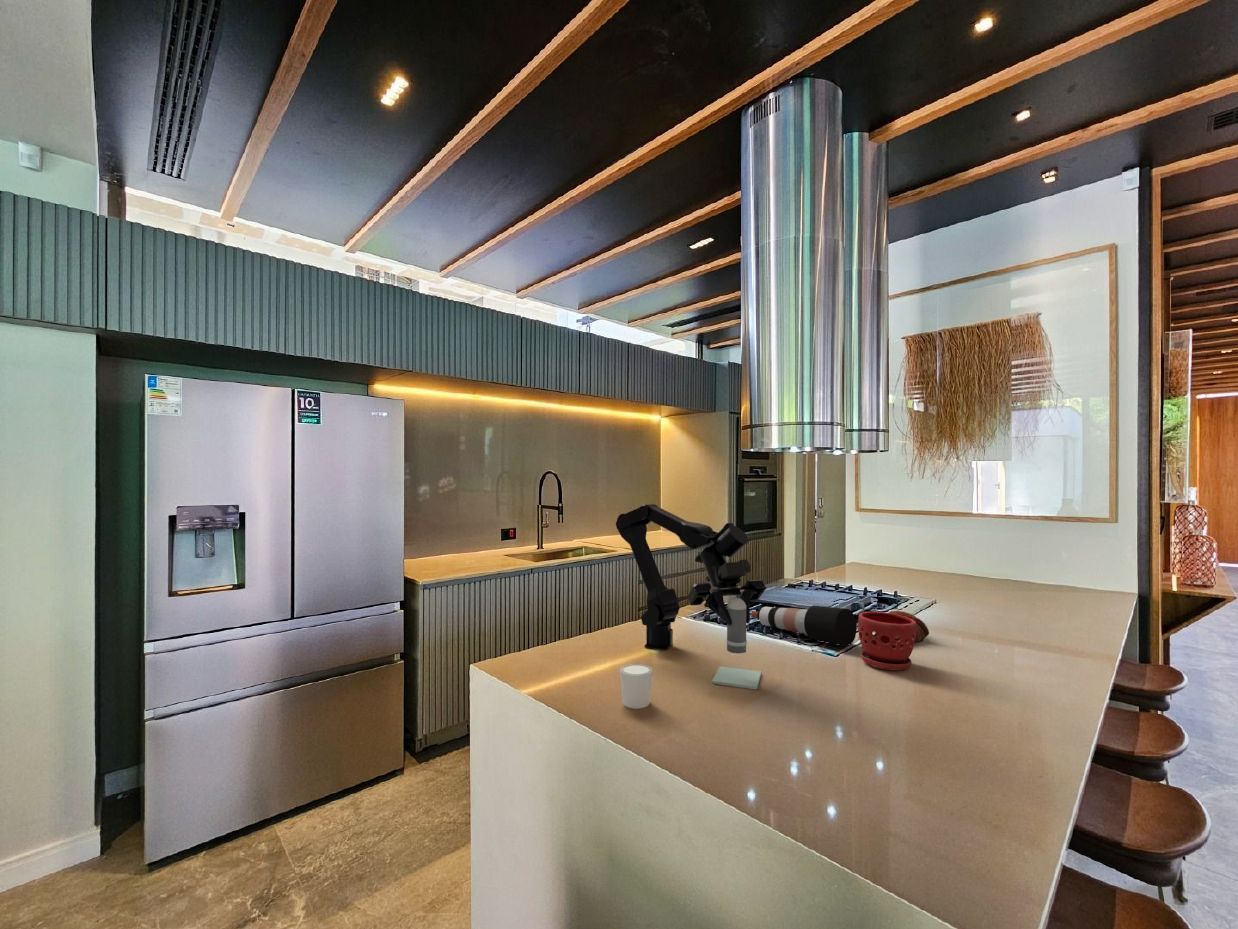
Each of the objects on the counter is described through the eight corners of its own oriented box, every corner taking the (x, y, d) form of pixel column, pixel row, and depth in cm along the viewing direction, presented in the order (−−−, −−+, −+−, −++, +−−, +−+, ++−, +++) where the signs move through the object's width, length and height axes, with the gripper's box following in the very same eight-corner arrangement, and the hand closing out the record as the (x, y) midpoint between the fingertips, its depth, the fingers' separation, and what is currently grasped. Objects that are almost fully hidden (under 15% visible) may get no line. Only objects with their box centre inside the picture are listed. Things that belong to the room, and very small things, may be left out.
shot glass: (656, 698, 116) (656, 665, 116) (647, 712, 109) (647, 677, 109) (625, 694, 118) (625, 661, 118) (615, 707, 112) (615, 672, 112)
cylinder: (725, 652, 126) (725, 599, 126) (728, 646, 130) (728, 595, 130) (745, 654, 124) (745, 601, 124) (747, 648, 129) (747, 596, 129)
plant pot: (903, 678, 128) (903, 627, 128) (849, 663, 138) (848, 616, 138) (924, 665, 136) (924, 617, 137) (872, 652, 146) (871, 607, 146)
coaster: (712, 683, 124) (712, 680, 124) (719, 668, 134) (719, 666, 134) (756, 689, 121) (756, 686, 121) (761, 674, 130) (761, 671, 130)
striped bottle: (759, 634, 178) (766, 605, 181) (853, 651, 150) (859, 615, 154) (739, 624, 173) (746, 594, 177) (832, 639, 146) (839, 603, 149)
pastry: (860, 630, 167) (860, 604, 167) (907, 629, 169) (907, 603, 169) (894, 648, 151) (894, 619, 151) (945, 646, 152) (945, 617, 152)
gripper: (693, 549, 129) (715, 607, 118) (762, 546, 134) (788, 602, 123) (679, 576, 136) (698, 633, 125) (745, 573, 142) (769, 627, 131)
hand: (739, 623), depth 126 cm, fingers closed on cylinder, 4 cm apart
